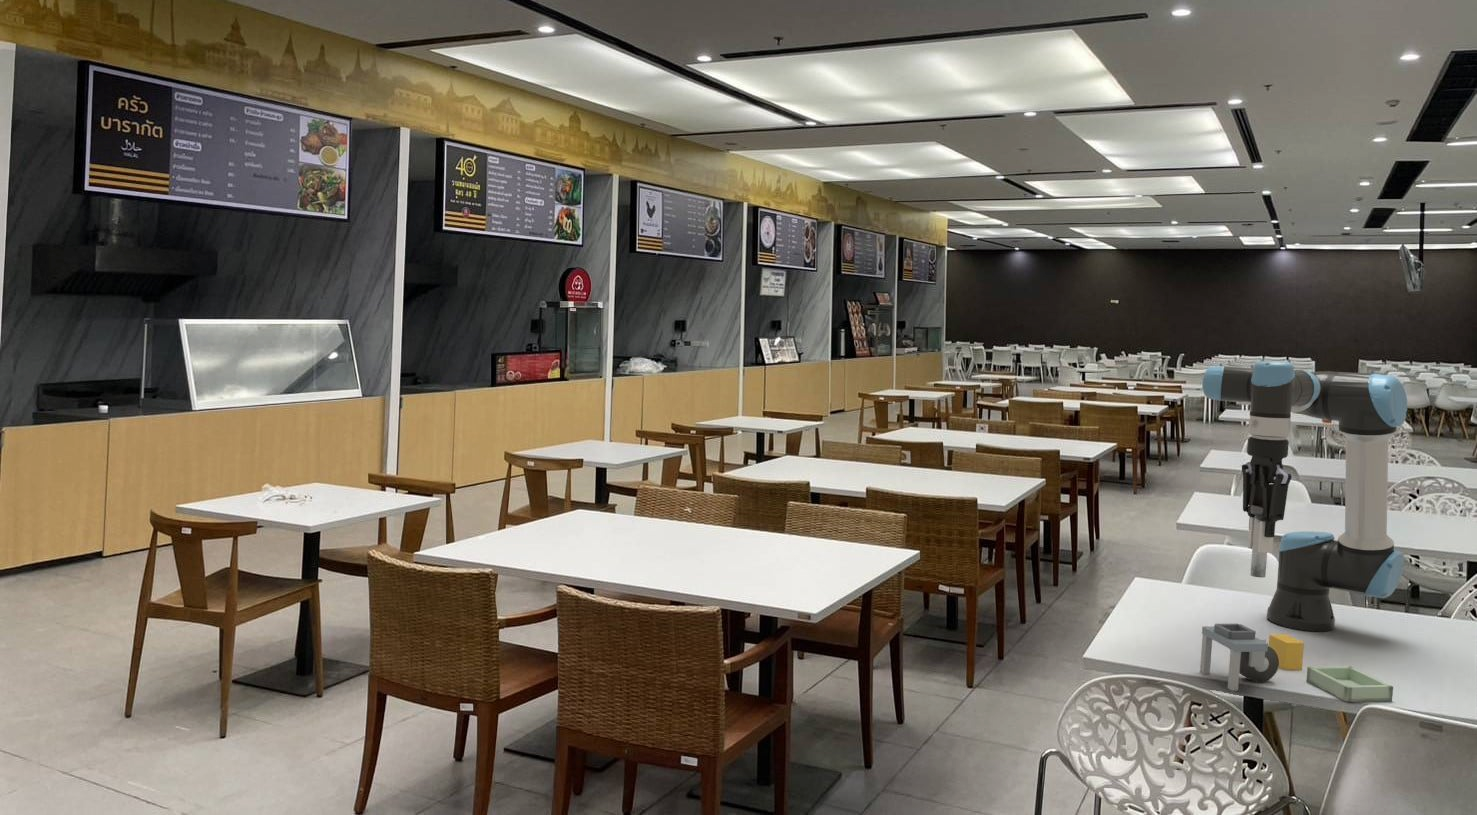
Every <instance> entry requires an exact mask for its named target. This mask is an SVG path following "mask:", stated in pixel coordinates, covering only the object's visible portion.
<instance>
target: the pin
mask: <svg viewBox="0 0 1477 815" xmlns="http://www.w3.org/2000/svg"><path fill="white" fill-rule="evenodd" d="M1251 514H1255V518H1254V531H1253V545H1252V549H1251V560H1250V576H1251V577H1254V578H1261V579H1263V578H1266V575H1267V574H1266V571H1267V558H1268V553H1260V552H1258V543H1259V530H1260V518H1263V505H1251Z"/></svg>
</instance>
